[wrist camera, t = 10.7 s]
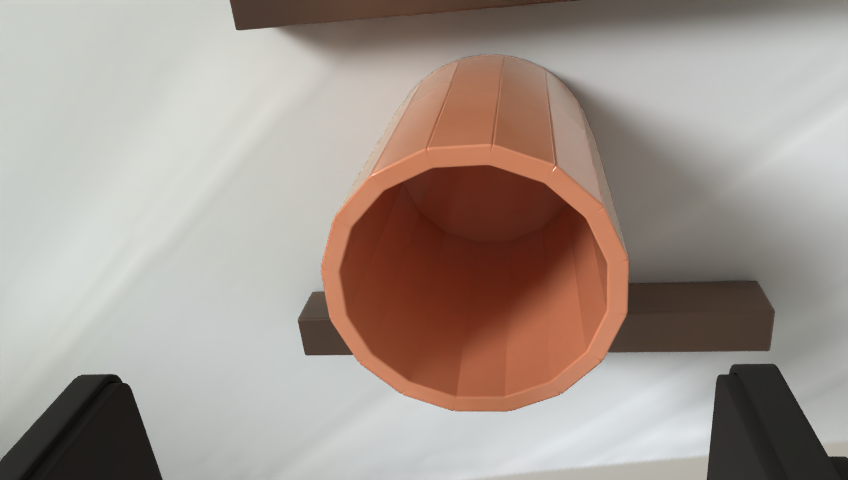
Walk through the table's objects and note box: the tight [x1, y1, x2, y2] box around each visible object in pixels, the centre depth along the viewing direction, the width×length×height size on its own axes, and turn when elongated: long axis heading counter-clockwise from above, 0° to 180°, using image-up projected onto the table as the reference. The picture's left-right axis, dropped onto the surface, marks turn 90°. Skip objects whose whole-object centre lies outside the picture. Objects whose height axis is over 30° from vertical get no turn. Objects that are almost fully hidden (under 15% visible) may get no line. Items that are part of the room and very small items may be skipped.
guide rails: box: [230, 0, 775, 355], centre depth 22 cm, size 16×13×2 cm
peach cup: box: [321, 55, 629, 411], centre depth 19 cm, size 7×7×9 cm
